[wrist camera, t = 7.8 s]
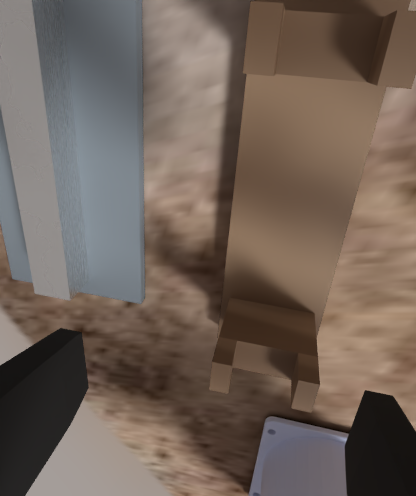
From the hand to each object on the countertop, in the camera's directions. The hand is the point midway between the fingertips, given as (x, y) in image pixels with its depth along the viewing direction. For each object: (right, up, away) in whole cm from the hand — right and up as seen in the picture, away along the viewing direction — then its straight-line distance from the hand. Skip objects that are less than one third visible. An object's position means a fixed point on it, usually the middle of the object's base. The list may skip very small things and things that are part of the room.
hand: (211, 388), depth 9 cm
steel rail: (-7, +10, +7) cm, 14 cm away
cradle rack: (+4, +6, +7) cm, 10 cm away
